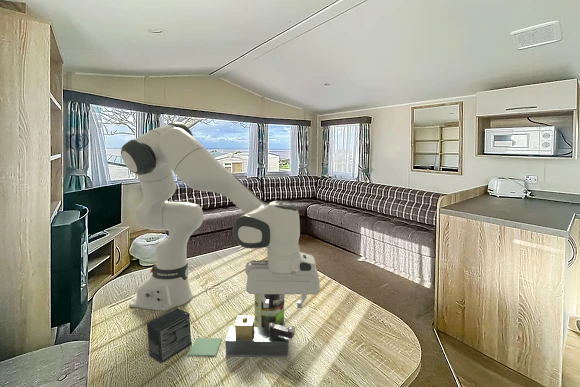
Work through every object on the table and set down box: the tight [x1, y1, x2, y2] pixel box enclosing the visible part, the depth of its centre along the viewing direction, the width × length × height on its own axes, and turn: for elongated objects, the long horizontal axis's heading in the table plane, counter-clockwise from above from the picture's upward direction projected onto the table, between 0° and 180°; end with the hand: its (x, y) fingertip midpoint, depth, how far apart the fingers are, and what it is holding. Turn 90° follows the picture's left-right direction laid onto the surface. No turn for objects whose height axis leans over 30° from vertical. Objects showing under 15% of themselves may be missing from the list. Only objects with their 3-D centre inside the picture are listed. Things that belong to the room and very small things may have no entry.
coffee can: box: [254, 294, 285, 327], centre depth 106 cm, size 10×10×14 cm
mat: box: [187, 337, 223, 357], centre depth 95 cm, size 8×8×1 cm
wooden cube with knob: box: [234, 315, 255, 338], centre depth 94 cm, size 5×5×5 cm
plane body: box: [225, 326, 290, 359], centre depth 94 cm, size 18×7×5 cm, turn 89°
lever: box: [269, 322, 296, 340], centre depth 92 cm, size 2×8×3 cm, turn 65°
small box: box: [146, 307, 193, 364], centre depth 93 cm, size 11×6×10 cm, turn 145°
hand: (283, 307), depth 88 cm, fingers open, 8 cm apart
